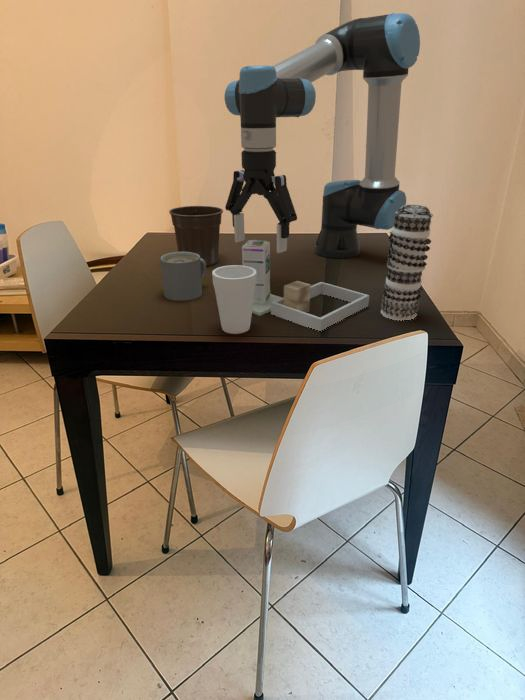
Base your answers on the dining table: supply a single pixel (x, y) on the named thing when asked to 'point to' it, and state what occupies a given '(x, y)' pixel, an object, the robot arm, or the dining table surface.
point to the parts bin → (321, 323)
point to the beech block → (297, 296)
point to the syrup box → (258, 267)
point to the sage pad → (264, 306)
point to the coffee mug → (182, 275)
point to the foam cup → (235, 296)
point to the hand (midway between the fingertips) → (260, 246)
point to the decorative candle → (406, 262)
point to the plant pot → (198, 230)
